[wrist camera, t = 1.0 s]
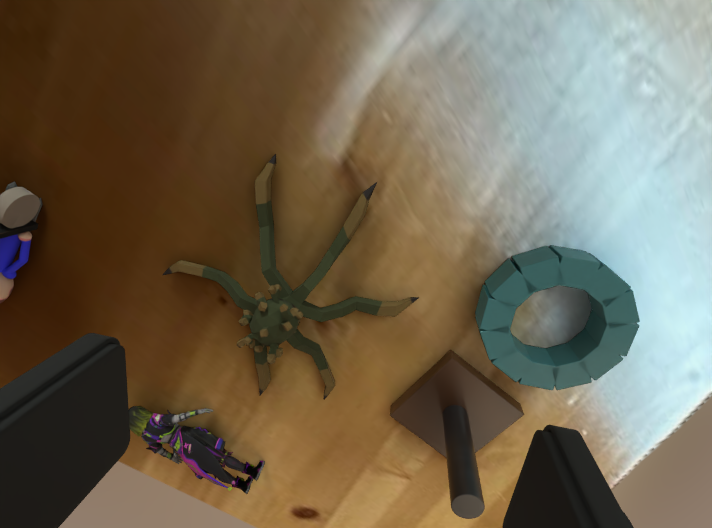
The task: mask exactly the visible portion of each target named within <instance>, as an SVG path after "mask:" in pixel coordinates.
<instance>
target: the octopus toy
mask: <svg viewBox="0 0 712 528" xmlns="http://www.w3.org/2000/svg"><path fill="white" fill-rule="evenodd" d="M275 166H276V154H275V155H274V156H273V157H272V159H271V160H270V161H269V162H268V164H267V165H266V166H265V168H264V169H263V170H262V172H261V173H260V175H259V176H258V177H257V179H256V180H255V195H256V208H257V214H258V221H259V227H260V254H261V267H262V273H263V275H264V277H265V278H266V280H267V282H268V283H269V285H270V287H269V289H268V291H269V293H270V294H271V296H272V299H269V300H267V301H266V299H265V296H264V294H263V293H261V292H257V293H256V294H255V298H256V299H255V298H252V297H250V296H248V295H247V294H246V293H245V291H244V290H243V289H242V287H241V286H240V285H239V283H238V282H237V281H235V280H234V279H233V278H231V277H230V276H229V275H228V274H226V273H225V272H223V271H220V270H217V269H214V268H211V267H208V266H204V265H200V264H195V263H191V262H187V261H182V260H180V261H178V262H177V263H175V264H173V265H172V266H170V267H169V268H168V269H167V270H166V272H165V273H164V274H163V275H166V274H171V273H175V272H178V271H180V272H184V273H188V274H193V275H197V276H201V277H204V278H208V279H211V280H214V281H217V282H218V283H219V284H220V285H221V286H222V287H223V288H224V289H225V290H226V291H227V292H228V293H229V295H230V296H231V297H232V299H233V300H234V302H235V303H236V305H237V306H238V307H240V308H242V309H243V310H244V311H243V317H242V318H241V319H240V320H239V323H240V324H241V326H244V325H247V324H248V323H250V324H249V326H250V329H251V332H252V333H250V334H249V335H248V336H246V337H245V338H242V339H240V340H239V341H238V342H237V346H238V347H239V348H242V347H243V346H244V345H245V344H246V345H249V347H250V348H251V349H252V348H253V347H254V355H255V363H256V368H257V372H258V377H259V392H260V395H261V394H262V393H263V392H264V391H265V390H266V388H267V386H268V384H269V382H270V380H271V378H270V372H269V367H268V363H269V364H273V363H275V360H276V357H281V356H282V354H283V349H282V348H279V344H281V343H282V342H284V341H285V340H287V341H288V342H289V343H290V344H291V345H292V346H293V347H294V348H295V349H298V350H300V351H303V352H305V353H308V354H310V355H312V357H313V359H314V361H315V363H316V365H317V367H318V369H319V371H320V374H321V376H322V378H323V380H324V383H325V390H324V399H325V398H326V397H327V396H328V395H329V394H330V392H331V391H332V389H333V388H334V386H335V380H334V378H333V375H332V373H331V370H330V368H329V365H328V363H327V361H326V359H325V356H324V354H323V352H322V350H321V348H320V346H319V344H317V343H315V342H313V341H311V340H309V339H307V338H305V337H303V335H302V334H301V333H300V332H299V330H298V329H297V326H298V325H299V323H300V319H301V318H302V317H306V318H309V319H313V320H316V321H319V322H323V321H327V320H331V319H335V318H339V317H343V316H345V315H347V314H349V313H351V312H353V311H355V310H358V311H362V312H365V313H369V314H372V315H376V316H391V317H395V316H397V315H398V314H399V313H401V312H402V311H403V310H404V309H406V308H407V307H408V306H409V305H411V304H412V303H413V302H414V301H416V300H417V299H418V298H417V297H411V298H407V299H404V300H401V301H394V302H381V301H376V300H372V299H367V298H362V297H357V296H355V297H352V298H350V299H347V300H344V301H342V302H340V303H337V304H334V305H330V306H326V307H323V308H319V307H317V306H315V305H313V304H311V303H308V302H306V301H304V300H305V299H306V298H307V296H308V295H309V293H310V292H311V291H312V290H313V289H314V287H315V286H316V285H317V284H318V283H319V282H320V280H321V279H322V278H323V277H324V276H325V274H326V273H327V272H328V270H329V269H330V267H331V266H332V264H333V263H334V261H335V260H336V259H337V257H338V256H339V255H340V253H341V252H342V251H343V249H344V248H345V247H346V245H347V244H348V243H349V241H350V240H351V238H352V236H353V235H354V233H355V231H356V230H357V228H358V226H359V225H360V223H361V221H362V220H363V218H364V216H365V213H366V210H367V206H368V202H369V199H370V197H371V195H372V192H373V190H374V188H375V186H376V184H377V182H376V183H375V184H374V185H372V186H371V187H370V188H368V189H367V190H366V191H364V192H363V193H362V195H361V196H360V198H359V200H358V201H357V203H356V205H355V207H354V208H353V210H352V212H351V214H350V215H349V217H348V219H347V220H346V222H345V224H344V226H343V227H342V229H341V231H340V232H339V234H338V235H337V237H336V239H335V240H334V242H333V243H332V245H331V247H330V248H329V250H328V251H327V253H326V254H325V256H324V257H323V259H322V261H321V262H320V264H319V265H318V267H317V268H316V270H315V271H314V272H313V273H312V274H311V275H310V276H309V277H308V278H307V280H306V281H305V282H304V283H303V284H301V285H300V286H299V287H297V288H296V289H295V290H294V291H292V289H291V288H290V286H289V285H288V284H287V282H286V281H285V280H284V278H283V277H282V276H281V274H280V273H279V272H278V270H277V269H276V259H275V245H274V223H273V214H272V206H271V177H272V174H273V171H274V168H275ZM266 346H270V350H269V354H268V356H267V347H266Z"/></svg>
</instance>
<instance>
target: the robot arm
mask: <svg viewBox="0 0 712 528" xmlns="http://www.w3.org/2000/svg"><path fill="white" fill-rule="evenodd" d="M129 441H130V426H129V410H128V394H127V377H126V361H125V350H124V348H123V346H121V345H120V343H119V341H118V339H116V338H114V337H109V336H104V335H99V334H94V333H89V334H87V335H84V336H83V337H81V338H80V339H78V340H76V341H75V342H73V343H72V344H70V345H69V346H67V347H65V348H64V349H62V350H61V351H59V352H57V353H56V354H54V355H53V356H51V357H50V358H48V359H46V360H45V361H43V362H42V363H40V364H39V365H37V366H35V367H34V368H32V369H31V370H29V371H27V372H26V373H24V374H23V375H21V376H20V377H18V378H16V379H15V380H13V381H12V382H10V383H8V384H7V385H5V386H4V387H2V388H1V389H0V528H58V527H59V526H60V525H61V524H62V523H63V522H64V521H65V519H66V518H67V517H68V516H69V515H70V514H71V513H72V512H73V511H74V509H75V508H76V507H77V506H78V505H79V504H80V503H81V501H82V500H83V499H84V498H85V497H86V496H87V495H88V494H89V493H90V491H91V490H92V489H93V488H94V487H95V486H96V485H97V483H98V482H99V481H100V480H101V479H102V478H103V477H104V476H105V474H106V473H107V472H108V471H109V470H110V469H111V468H112V466H113V465H114V464H115V463H116V462H117V461H118V460H119V459H120V458H121V456H122V455H123V454H124V453H125V451H126V449H127V447H128V445H129ZM503 528H633V526H632V524H631V522H630V520H629V519H628V518H627V516H626V515H625V513H624V512H623V511H622V510H621V508H620V506H619V504H618V503H617V501H616V499H615V497H614V495H613V493H612V491H611V489H610V488H609V486H608V484H607V482H606V480H605V478H604V477H603V475H602V473H601V471H600V469H599V467H598V465H597V464H596V462H595V460H594V458H593V456H592V454H591V453H590V451H589V449H588V447H587V445H586V443H585V442H584V440H583V438H582V436H581V434H580V433H579V432H578V431H576V430H573V429H568V428H563V427H558V426H553V425H547V426H546V427H545V428H544V430H543V431H542V430H537V431H536V432H535V434H534V437H533V439H532V442H531V445H530V448H529V451H528V453H527V456H526V459H525V462H524V465H523V467H522V470H521V473H520V476H519V479H518V482H517V484H516V487H515V490H514V493H513V496H512V498H511V501H510V504H509V507H508V510H507V512H506V515H505V518H504V522H503Z"/></svg>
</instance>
